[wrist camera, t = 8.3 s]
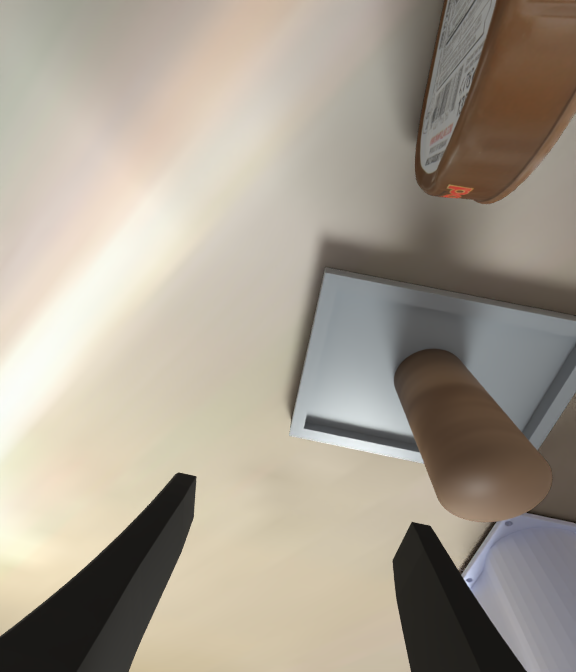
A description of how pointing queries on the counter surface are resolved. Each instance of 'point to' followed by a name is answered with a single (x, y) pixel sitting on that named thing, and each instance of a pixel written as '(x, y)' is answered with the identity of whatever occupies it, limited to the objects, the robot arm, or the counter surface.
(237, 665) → the counter surface
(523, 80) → the tin
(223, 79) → the counter surface
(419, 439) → the brown rounded cylinder
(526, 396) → the tray
